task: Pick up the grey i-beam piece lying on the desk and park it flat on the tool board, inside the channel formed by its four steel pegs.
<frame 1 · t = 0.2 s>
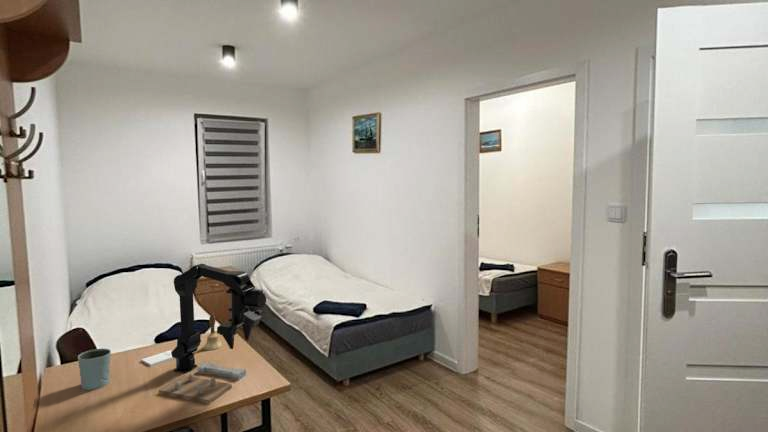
hand: (239, 344, 161), 14 cm above the table, tool pointing down, fingers open, 9 cm apart
grey i-beam piece: (221, 374, 166), on the table
hand bell: (212, 347, 193), on the table
peg board: (195, 390, 153), on the table
grey-blue cup: (96, 384, 157), on the table
external hard drive: (160, 360, 179), on the table
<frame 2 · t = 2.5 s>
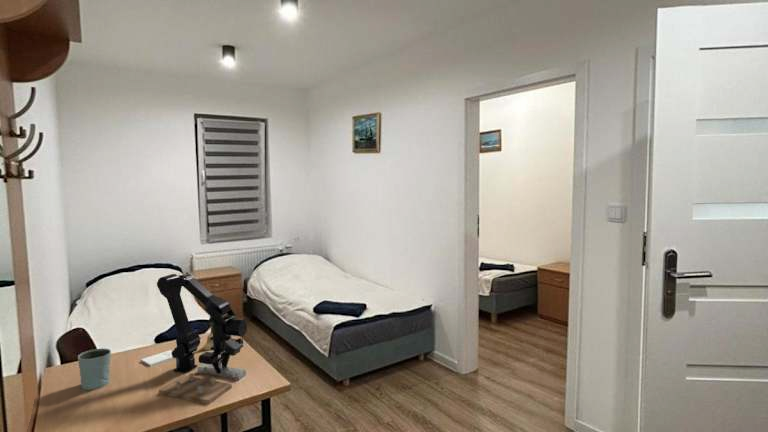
hand: (221, 371, 166), 1 cm above the table, tool pointing down, fingers closed on grey i-beam piece, 3 cm apart
grey i-beam piece: (221, 373, 166), on the table, touching gripper
everything else where it was.
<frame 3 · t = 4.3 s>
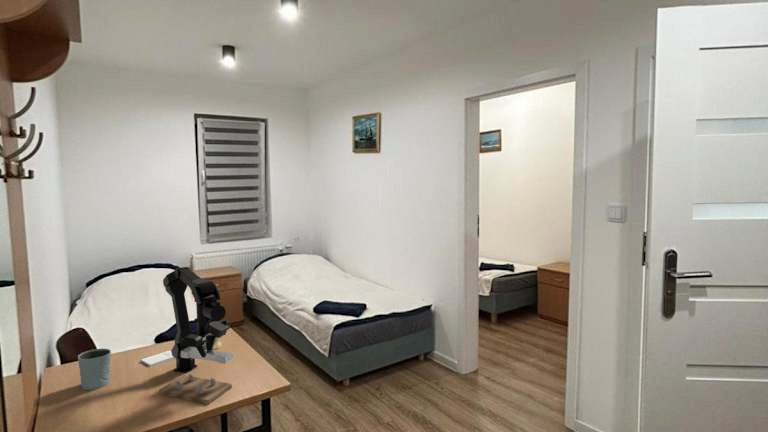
hand: (206, 355, 157), 11 cm above the table, tool pointing down, fingers closed on grey i-beam piece, 3 cm apart
grey i-beam piece: (206, 358, 157), point 10 cm above the table, touching gripper
everything else where it was.
when the fingers open (3 cm above the table, at t = 6.3 s): grey i-beam piece stays where it is, resting on peg board.
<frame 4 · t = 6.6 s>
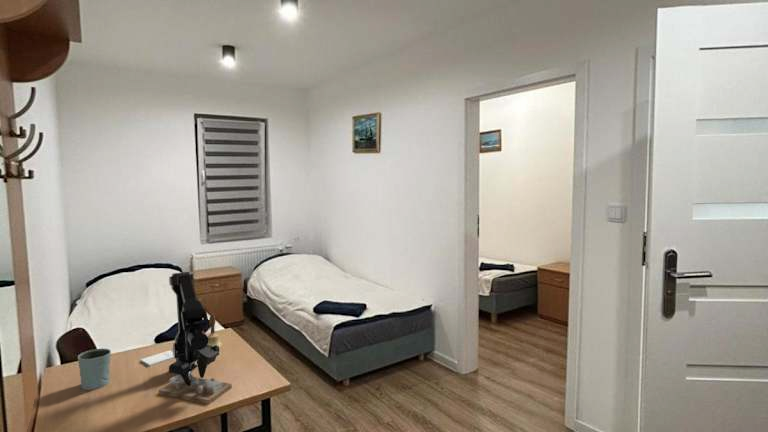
hand: (195, 381, 152), 3 cm above the table, tool pointing down, fingers open, 6 cm apart
grey i-beam piece: (195, 386, 152), point 1 cm above the table, touching peg board
everything else where it was.
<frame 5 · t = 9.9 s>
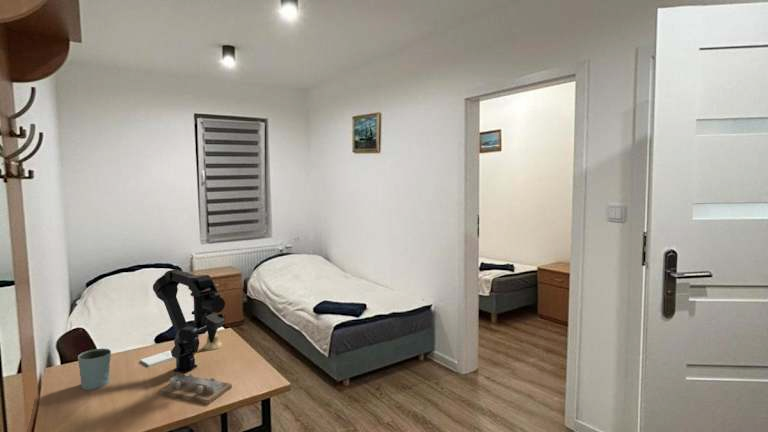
hand: (203, 347, 162), 12 cm above the table, tool pointing down, fingers open, 9 cm apart
nothing on the table moved.
at the end: grey i-beam piece 0.1 cm off-centre on the peg board, point 1.5 cm above the peg board's base; grey i-beam piece tilted 0°; the gripper is holding nothing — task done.
